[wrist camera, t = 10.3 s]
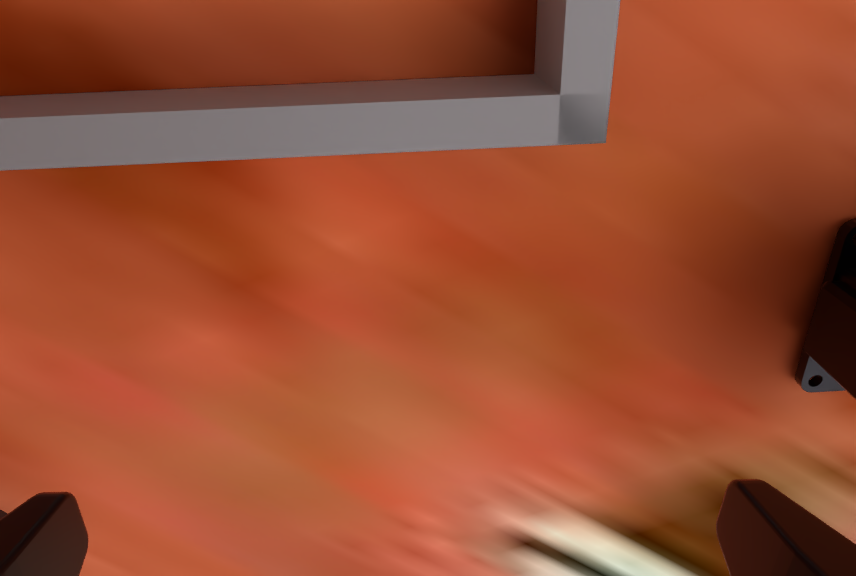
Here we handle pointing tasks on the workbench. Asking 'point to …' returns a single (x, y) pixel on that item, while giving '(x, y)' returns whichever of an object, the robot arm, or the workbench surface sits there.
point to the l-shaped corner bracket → (334, 110)
